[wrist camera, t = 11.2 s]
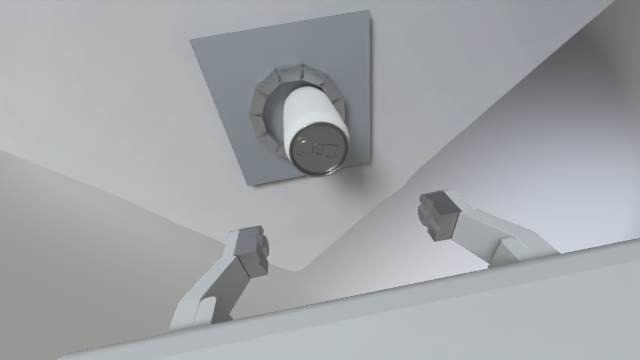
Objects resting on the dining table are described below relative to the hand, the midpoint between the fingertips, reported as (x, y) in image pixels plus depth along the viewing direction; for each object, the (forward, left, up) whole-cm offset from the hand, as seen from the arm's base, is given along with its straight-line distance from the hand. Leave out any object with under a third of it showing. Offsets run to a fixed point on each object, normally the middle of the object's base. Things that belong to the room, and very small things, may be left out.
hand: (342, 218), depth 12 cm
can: (0, +2, -22) cm, 22 cm away
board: (+1, +2, -24) cm, 24 cm away
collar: (+1, +2, -22) cm, 22 cm away
